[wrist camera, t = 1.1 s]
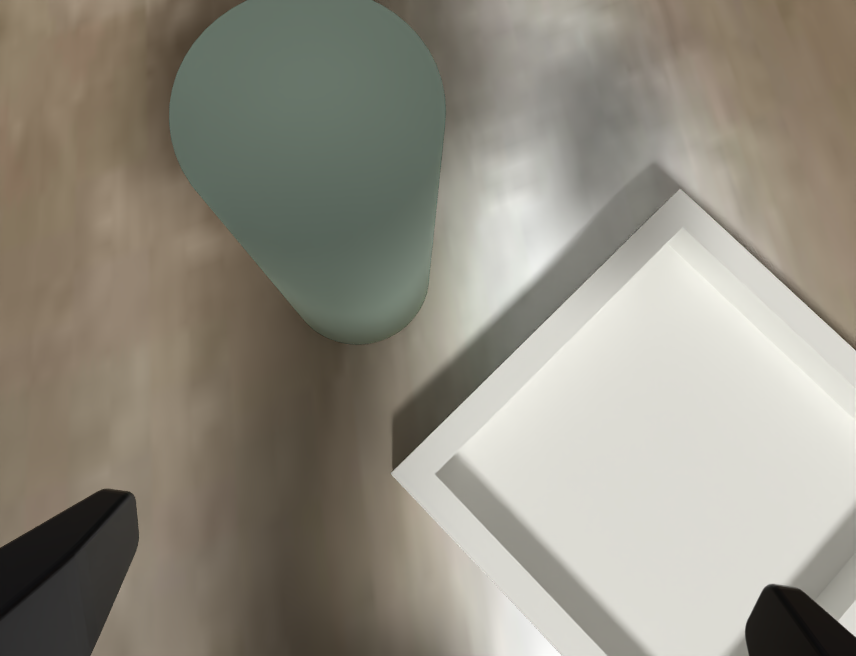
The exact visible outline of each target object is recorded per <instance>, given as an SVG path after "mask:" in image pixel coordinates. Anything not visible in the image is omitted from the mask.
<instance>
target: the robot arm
mask: <svg viewBox="0 0 856 656" xmlns="http://www.w3.org/2000/svg"><path fill="white" fill-rule="evenodd" d="M138 541H139V529H138V519H137V508H136V500H135V497H134V495H133V494H132V493H131V492H128V491H121V490H114V489H102V490H100V491H98V492H96V493H94V494H92V495H91V496H89V497H87V498H85V499H84V500H82V501H80V502H79V503H77V504H75V505H73V506H72V507H70V508H68V509H66V510H65V511H63V512H61V513H60V514H58V515H56V516H54V517H53V518H51V519H49V520H47V521H46V522H44V523H42V524H41V525H39V526H37V527H35V528H34V529H32V530H30V531H28V532H27V533H25V534H23V535H22V536H20V537H18V538H16V539H15V540H13V541H11V542H9V543H8V544H6V545H4V546H3V547H1V548H0V656H90V655H91V653H92V651H93V649H94V647H95V645H96V642H97V640H98V638H99V636H100V634H101V631H102V629H103V627H104V624H105V622H106V620H107V617H108V615H109V613H110V610H111V608H112V606H113V603H114V601H115V599H116V597H117V594H118V592H119V590H120V587H121V585H122V583H123V580H124V578H125V576H126V573H127V571H128V569H129V566H130V564H131V562H132V560H133V557H134V555H135V552H136V549H137V546H138ZM745 640H746V645H747V649H748V654H749V656H856V637H855V636H854V635H853V634H852V633H851V632H849V631H848V630H847V629H846V628H845V627H844V626H842V625H841V624H840V623H839V622H838V621H837V620H836V619H834V618H833V617H832V616H831V615H830V614H829V613H828V612H826V611H825V610H824V609H823V608H822V607H821V606H820V605H818V604H817V603H816V602H815V601H814V600H813V599H812V598H810V597H809V596H808V595H807V594H806V593H805V592H803V591H802V590H801V589H799V588H796V587H793V586H786V585H779V584H768V585H767V586H765V587H764V588H763V590H762V592H761V594H760V596H759V598H758V600H757V602H756V604H755V606H754V608H753V610H752V612H751V614H750V616H749V618H748V620H747V623H746V627H745Z"/></svg>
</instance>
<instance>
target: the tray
mask: <svg viewBox="0 0 856 656" xmlns="http://www.w3.org/2000/svg"><path fill="white" fill-rule="evenodd" d="M391 475H392V476H393V477H394V478H395V479H396V480H397V481H398V482H399V483H400V484H401V485H402V486H403V487H404V488H405V489H406V491H407V492H408V493H409V494H410V495H411V496H412V497H413V498H414V499H415V500H416V501H417V502H418V503H419V504H420V505H421V506H422V508H423V509H424V510H425V511H426V512H427V513H428V514H429V515H430V516H431V517H432V518H433V519H434V520H435V521H436V522H437V523H438V525H439V526H440V527H441V528H442V529H443V530H444V531H445V532H446V533H447V534H448V535H449V536H450V537H451V538H452V539H453V540H454V542H455V543H456V544H457V545H458V546H459V547H460V548H461V549H462V550H463V551H464V552H465V553H466V554H467V555H468V556H469V557H470V559H471V560H472V561H473V562H474V563H475V564H476V565H477V566H478V567H479V568H480V569H481V570H482V571H483V572H484V573H485V574H486V576H487V577H488V578H489V579H490V580H491V581H492V582H493V583H494V584H495V585H496V586H497V587H498V588H499V589H500V590H501V591H502V593H503V594H504V595H505V596H506V597H507V598H508V599H509V600H510V601H511V602H512V603H513V604H514V605H515V606H516V607H517V608H518V610H519V611H520V612H521V613H522V614H523V615H524V616H525V617H526V618H527V619H528V620H529V621H530V622H531V623H532V624H533V625H534V627H535V628H536V629H537V630H538V631H539V632H540V633H541V634H542V635H543V636H544V637H545V638H546V639H547V640H548V641H549V642H550V644H551V645H552V646H553V647H554V648H555V649H556V650H557V651H558V652H559V653H560V654H561V655H562V656H749V654H748V649H747V645H746V640H745V627H746V623H747V620H748V618H749V616H750V614H751V612H752V610H753V608H754V606H755V604H756V602H757V600H758V598H759V596H760V594H761V592H762V590H763V588H764V587H765V586H767V585H768V584H779V585H786V586H793V587H796V588H799V589H801V590H802V591H803V592H805V593H806V594H807V595H808V596H809V597H810V598H812V599H813V600H814V601H815V602H816V603H817V604H818V605H820V606H821V607H822V608H823V609H824V610H825V611H826V612H828V613H829V614H830V615H831V616H832V617H833V618H834V619H836V620H837V621H838V622H839V623H840V624H841V625H842V626H844V627H845V628H846V629H847V630H848V631H849V632H851V633H852V634H853V635H854V636H855V637H856V351H855V350H854V349H853V348H852V347H851V346H850V345H849V344H848V343H847V342H846V341H845V340H844V339H843V338H841V337H840V336H839V335H838V334H837V333H836V332H835V331H834V330H833V329H832V328H831V327H830V326H828V325H827V324H826V323H825V322H824V321H823V320H822V319H821V318H820V317H819V316H818V315H817V314H815V313H814V312H813V311H812V310H811V309H810V308H809V307H808V306H807V305H806V304H805V303H804V302H802V301H801V300H800V299H799V298H798V297H797V296H796V295H795V294H794V293H793V292H792V291H791V290H790V289H788V288H787V287H786V286H785V285H784V284H783V283H782V282H781V281H780V280H779V279H778V278H777V277H775V276H774V275H773V274H772V273H771V272H770V271H769V270H768V269H767V268H766V267H765V266H764V265H762V264H761V263H760V262H759V261H758V260H757V259H756V258H755V257H754V256H753V255H752V254H751V253H749V252H748V251H747V250H746V249H745V248H744V247H743V246H742V245H741V244H740V243H739V242H738V241H737V240H735V239H734V238H733V237H732V236H731V235H730V234H729V233H728V232H727V231H726V230H725V229H724V228H722V227H721V226H720V225H719V224H718V223H717V222H716V221H715V220H714V219H713V218H712V217H711V216H709V215H708V214H707V213H706V212H705V211H704V210H703V209H702V208H701V207H700V206H699V205H698V204H696V203H695V202H694V201H693V200H692V199H691V198H690V197H689V196H688V195H687V194H686V193H685V192H684V191H682V190H681V189H679V190H678V191H677V192H676V193H675V194H674V195H673V196H672V197H671V198H670V199H669V200H668V201H667V202H666V203H665V204H664V205H663V206H661V207H660V208H659V209H658V210H657V211H656V212H655V213H654V214H653V215H652V216H651V217H650V218H649V219H648V220H647V221H646V222H645V223H644V224H643V225H642V226H641V227H640V228H639V229H638V230H637V231H636V232H635V233H634V234H633V235H632V236H631V237H630V238H629V239H628V240H627V241H626V242H625V243H624V244H623V245H622V246H621V247H620V248H619V249H618V250H617V251H616V252H615V253H614V254H613V255H612V256H611V257H610V258H609V259H608V260H607V261H606V262H605V263H604V264H603V265H602V266H601V267H599V268H598V269H597V270H596V271H595V272H594V273H593V274H592V275H591V276H590V277H589V278H588V279H587V280H586V281H585V282H584V283H583V284H582V285H581V286H580V287H579V288H578V289H577V290H576V291H575V292H574V293H573V294H572V295H571V296H570V297H569V298H568V299H567V300H566V301H565V302H564V303H563V304H562V305H561V306H560V307H559V308H558V309H557V310H556V311H555V312H554V313H553V314H552V315H551V316H550V317H549V318H548V319H547V320H546V321H545V322H544V323H543V324H542V325H541V326H540V327H539V328H538V329H537V330H536V331H535V332H533V333H532V334H531V335H530V336H529V337H528V338H527V339H526V340H525V341H524V342H523V343H522V344H521V345H520V346H519V347H518V348H517V349H516V350H515V351H514V352H513V353H512V354H511V355H510V356H509V357H508V358H507V359H506V360H505V361H504V362H503V363H502V364H501V365H500V366H499V367H498V368H497V369H496V370H495V371H494V372H493V373H492V374H491V375H490V376H489V377H488V378H487V379H486V380H485V381H484V382H483V383H482V384H481V385H480V386H479V387H478V388H477V389H476V390H475V391H474V392H473V393H472V394H471V395H470V396H469V397H467V398H466V399H465V400H464V401H463V402H462V403H461V404H460V405H459V406H458V407H457V408H456V409H455V410H454V411H453V412H452V413H451V414H450V415H449V416H448V417H447V418H446V419H445V420H444V421H443V422H442V423H441V424H440V425H439V426H438V427H437V428H436V429H435V430H434V431H433V432H432V433H431V434H430V435H429V436H428V437H427V438H426V439H425V440H424V441H423V442H422V443H421V444H420V445H419V446H418V447H417V448H416V449H415V450H414V451H413V452H412V453H411V454H410V455H409V456H408V457H407V458H406V459H405V460H404V461H403V462H401V463H400V464H399V465H398V466H397V467H396V468H395V469H394V470H393V471H392V473H391Z"/></svg>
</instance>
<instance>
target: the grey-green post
mask: <svg viewBox="0 0 856 656" xmlns="http://www.w3.org/2000/svg"><path fill="white" fill-rule="evenodd" d="M445 118H446V105H445V94H444V89H443V84H442V79H441V77H440V74H439V71H438V68H437V65H436V63H435V61H434V59H433V57H432V55H431V54H430V52H429V50H428V48H427V47H426V45H425V44H424V43H423V41H422V40H421V38H420V37H419V36H418V35H417V34H416V33H415V31H414V30H413V29H412V28H411V27H410V26H409V25H408V24H407V23H406V22H405V21H403V20H402V19H401V18H400V17H399V16H397V15H396V14H395V13H393V12H392V11H390V10H389V9H387V8H386V7H384V6H382V5H381V4H379V3H377V2H375V1H372V0H247V1H245V2H243V3H241V4H239V5H237V6H236V7H234V8H232V9H230V10H229V11H228V12H226V13H225V14H223V15H222V16H220V17H219V18H218V19H217V20H215V21H214V22H213V23H212V24H211V25H210V26H209V27H208V28H207V29H206V30H205V31H204V32H203V33H202V34H201V35H200V36H199V38H198V39H197V40H196V41H195V42H194V44H193V45H192V47H191V48H190V50H189V51H188V53H187V54H186V56H185V57H184V59H183V62H182V64H181V66H180V68H179V70H178V72H177V75H176V78H175V81H174V85H173V88H172V93H171V99H170V105H169V125H170V133H171V140H172V144H173V147H174V151H175V155H176V157H177V159H178V162H179V164H180V166H181V168H182V171H183V172H184V174H185V176H186V177H187V179H188V180H189V182H190V184H191V185H192V187H193V188H194V189H195V190H196V191H197V193H198V194H199V195H200V196H201V197H202V199H203V200H204V201H205V202H206V203H207V205H208V206H209V207H210V208H211V209H212V211H213V212H214V213H215V214H216V215H217V217H218V218H219V219H220V220H221V221H222V222H223V224H224V225H225V226H226V227H227V228H228V230H229V231H230V232H231V233H232V234H233V236H234V237H235V238H236V239H237V240H238V242H239V243H240V244H241V245H242V246H243V248H244V249H245V250H246V251H247V252H248V254H249V255H250V256H251V257H252V258H253V260H254V261H255V262H256V263H257V264H258V266H259V267H260V268H261V269H262V270H263V272H264V273H265V274H266V275H267V276H268V278H269V279H270V280H271V281H272V282H273V284H274V285H275V286H276V287H277V288H278V290H279V291H280V292H281V293H282V294H283V296H284V297H285V298H286V299H287V300H288V302H289V303H290V304H291V305H292V306H293V308H294V309H295V310H296V311H297V312H298V314H299V315H300V316H301V317H302V318H303V320H304V321H305V322H306V323H307V324H308V325H309V326H310V327H311V328H312V329H314V330H315V331H316V332H318V333H319V334H321V335H323V336H325V337H327V338H329V339H331V340H334V341H337V342H341V343H346V344H355V345H358V344H369V343H375V342H378V341H381V340H384V339H386V338H389V337H391V336H393V335H394V334H396V333H398V332H399V331H401V330H402V329H403V328H404V327H405V326H407V325H408V324H409V323H410V322H411V321H412V319H413V318H414V317H415V316H416V314H417V313H418V311H419V310H420V308H421V306H422V304H423V302H424V299H425V297H426V294H427V289H428V284H429V274H430V264H431V255H432V245H433V236H434V226H435V216H436V207H437V197H438V188H439V178H440V169H441V159H442V149H443V140H444V130H445Z"/></svg>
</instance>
